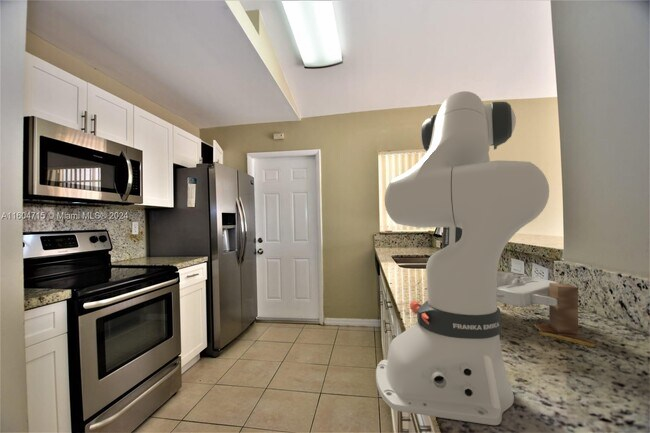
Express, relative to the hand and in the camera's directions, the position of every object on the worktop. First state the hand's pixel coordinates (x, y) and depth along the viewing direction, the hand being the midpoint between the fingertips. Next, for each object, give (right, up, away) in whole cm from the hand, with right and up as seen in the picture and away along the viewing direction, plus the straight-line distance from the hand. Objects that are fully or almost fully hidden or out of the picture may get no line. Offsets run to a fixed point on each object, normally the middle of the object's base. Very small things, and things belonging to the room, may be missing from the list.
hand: (566, 298), depth 65 cm
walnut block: (0, -8, +1) cm, 8 cm away
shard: (0, -10, +1) cm, 10 cm away
